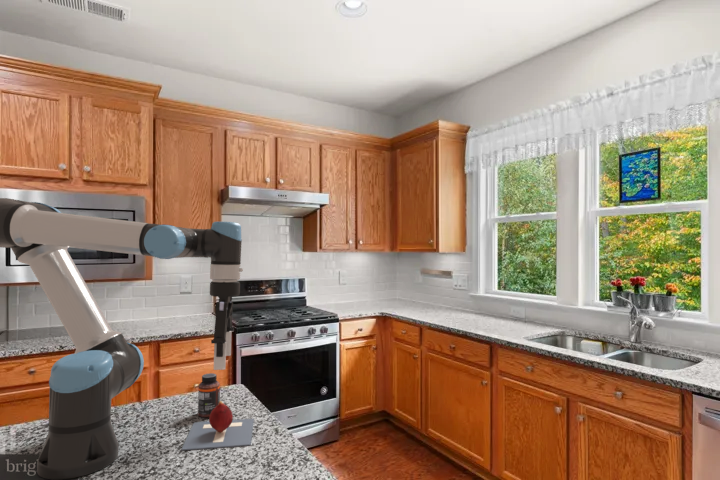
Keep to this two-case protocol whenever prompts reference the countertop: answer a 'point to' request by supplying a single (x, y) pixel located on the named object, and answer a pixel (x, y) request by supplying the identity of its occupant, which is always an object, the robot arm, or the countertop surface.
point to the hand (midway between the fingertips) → (222, 362)
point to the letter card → (219, 435)
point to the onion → (221, 417)
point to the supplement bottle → (208, 394)
